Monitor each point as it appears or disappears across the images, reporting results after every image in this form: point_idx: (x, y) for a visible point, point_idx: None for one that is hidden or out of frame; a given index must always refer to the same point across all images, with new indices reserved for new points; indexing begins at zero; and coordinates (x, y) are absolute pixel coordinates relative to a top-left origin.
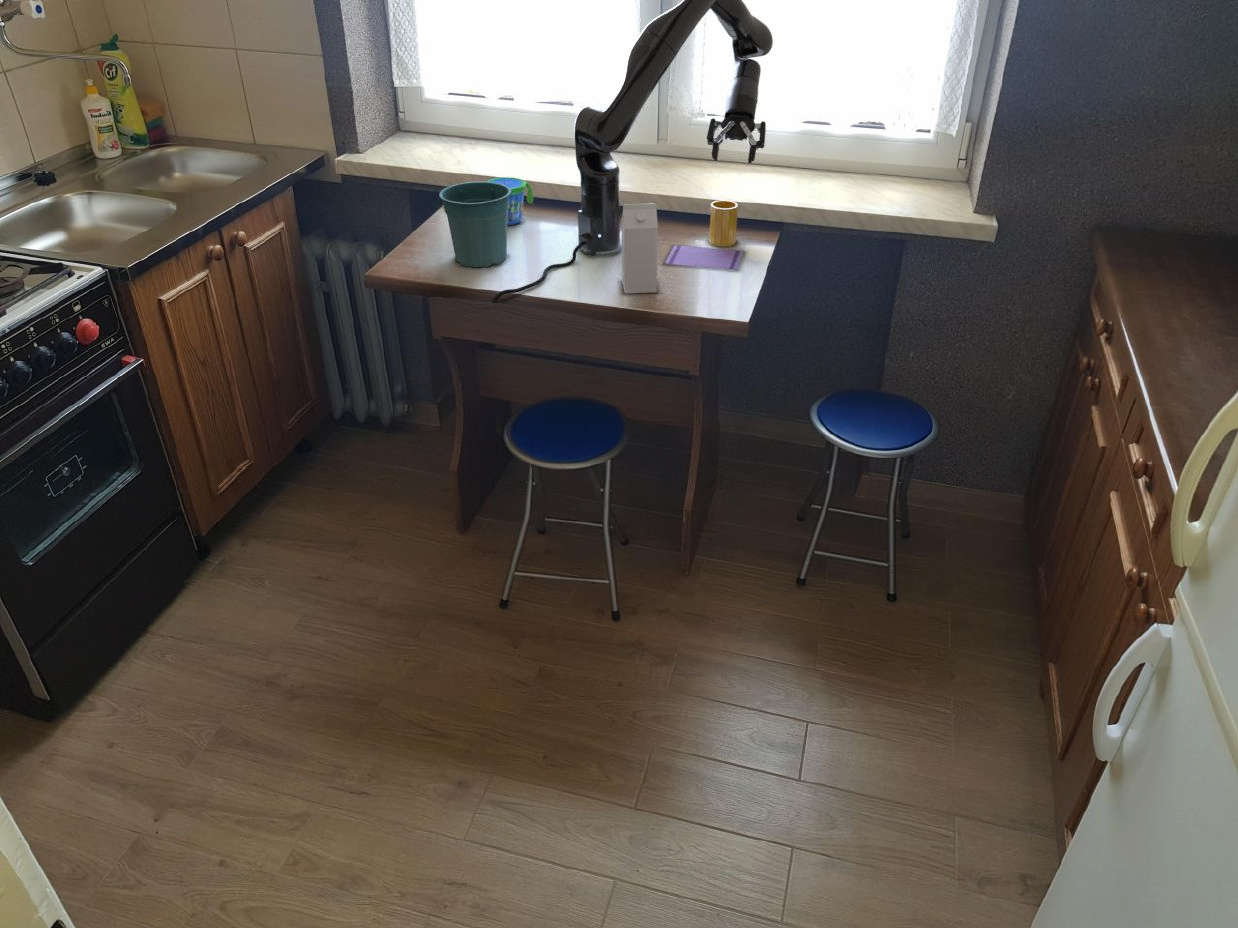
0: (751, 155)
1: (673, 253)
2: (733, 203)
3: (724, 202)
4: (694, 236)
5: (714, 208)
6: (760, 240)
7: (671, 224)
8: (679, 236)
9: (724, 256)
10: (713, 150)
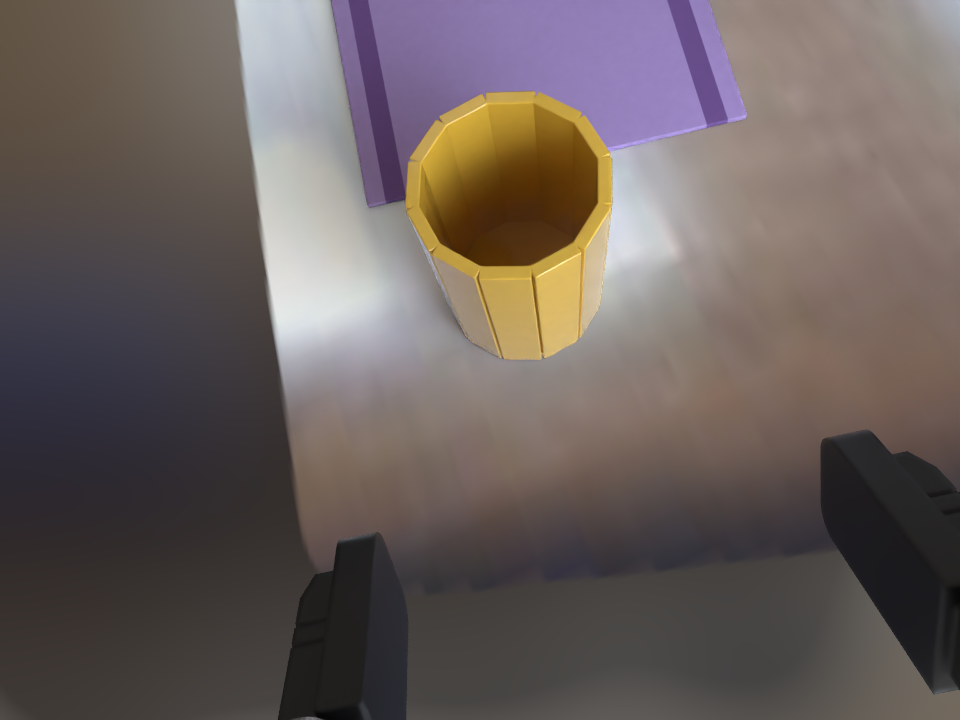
0: (333, 575)
1: (694, 16)
2: (458, 256)
3: (538, 265)
4: (713, 306)
5: (553, 101)
6: (331, 414)
7: (953, 437)
8: (795, 267)
9: (435, 96)
10: (948, 506)
